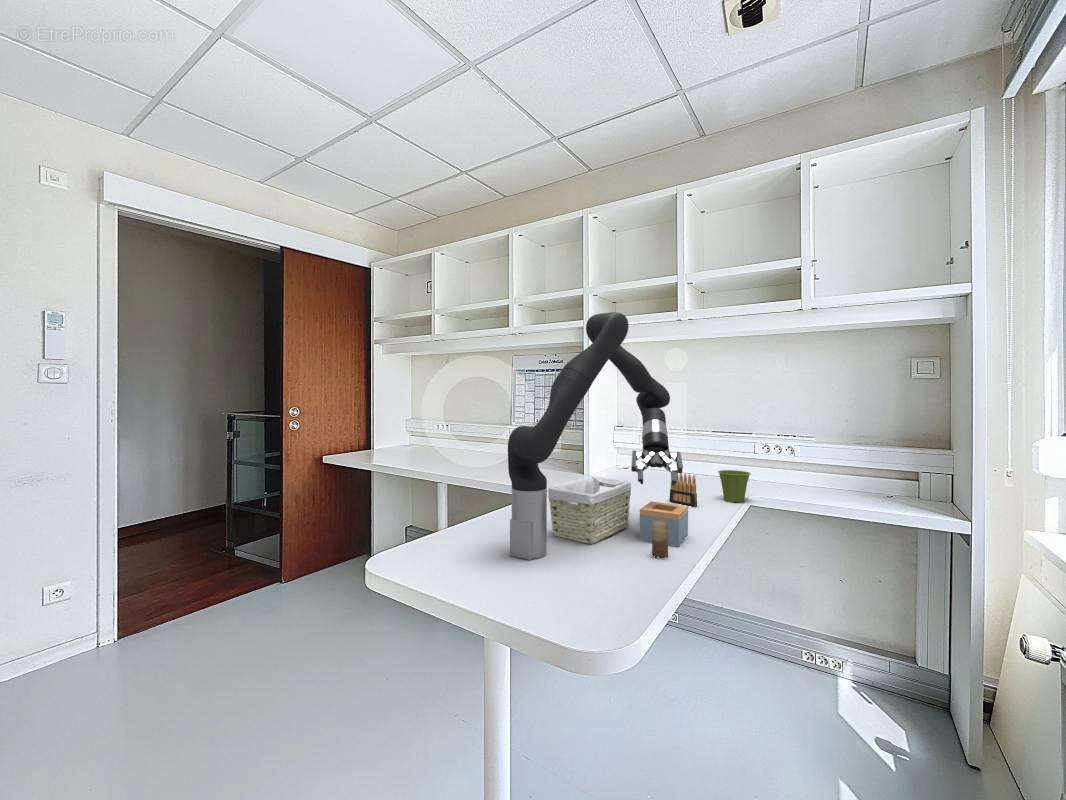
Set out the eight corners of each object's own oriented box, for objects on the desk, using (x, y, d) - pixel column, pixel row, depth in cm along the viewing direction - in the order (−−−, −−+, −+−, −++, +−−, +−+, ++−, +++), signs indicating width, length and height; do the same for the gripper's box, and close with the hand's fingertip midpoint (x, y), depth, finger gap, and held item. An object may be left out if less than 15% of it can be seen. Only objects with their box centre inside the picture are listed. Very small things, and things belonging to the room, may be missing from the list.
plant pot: (752, 499, 186) (752, 471, 186) (748, 505, 176) (748, 475, 176) (720, 496, 192) (720, 468, 192) (714, 502, 182) (715, 472, 182)
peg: (665, 559, 119) (666, 524, 119) (650, 556, 121) (650, 522, 121) (669, 555, 123) (670, 520, 123) (654, 552, 125) (654, 518, 125)
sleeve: (678, 547, 129) (679, 514, 129) (639, 540, 135) (639, 509, 134) (687, 536, 138) (688, 506, 138) (650, 530, 144) (651, 501, 144)
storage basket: (591, 547, 128) (592, 493, 128) (545, 536, 139) (545, 486, 139) (633, 528, 147) (633, 481, 147) (589, 519, 157) (589, 475, 157)
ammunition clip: (669, 502, 181) (669, 471, 181) (671, 501, 182) (672, 470, 182) (694, 507, 173) (695, 475, 173) (697, 506, 174) (697, 474, 174)
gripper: (631, 429, 141) (631, 474, 130) (680, 430, 139) (685, 476, 128) (630, 445, 147) (631, 489, 136) (678, 446, 144) (682, 491, 133)
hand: (657, 483), depth 132 cm, fingers open, 8 cm apart
